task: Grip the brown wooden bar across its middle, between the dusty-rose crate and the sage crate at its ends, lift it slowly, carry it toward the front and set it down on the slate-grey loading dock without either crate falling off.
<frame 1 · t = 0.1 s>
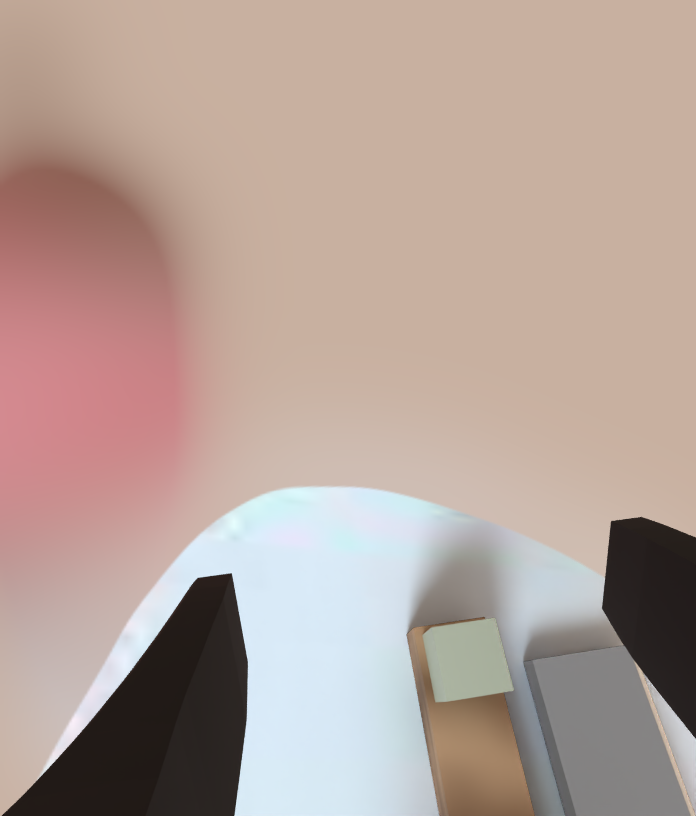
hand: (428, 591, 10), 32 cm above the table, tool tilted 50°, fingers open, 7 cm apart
dock: (617, 806, 34), on the table
crate sage: (458, 663, 35), point 4 cm above the table, touching brown wooden bar
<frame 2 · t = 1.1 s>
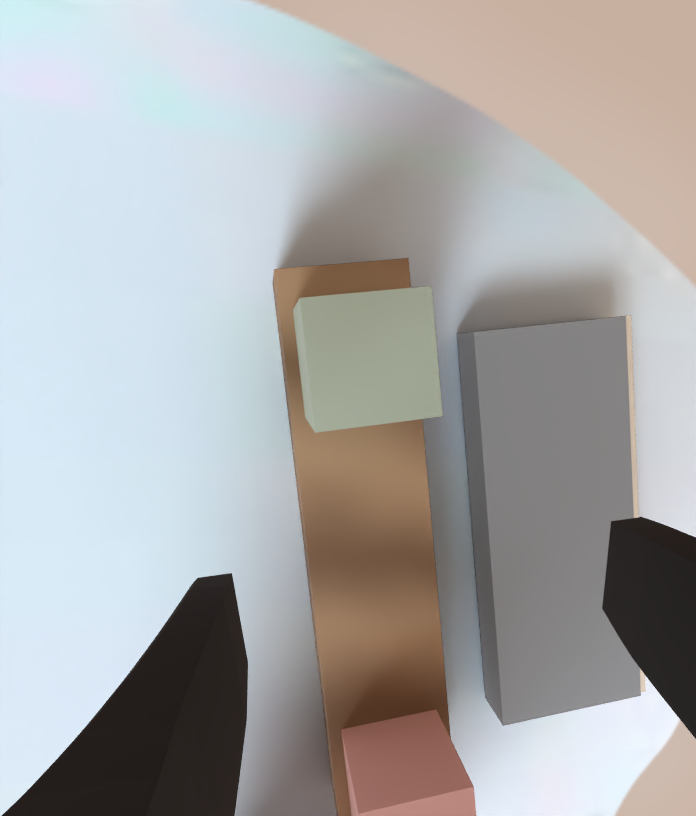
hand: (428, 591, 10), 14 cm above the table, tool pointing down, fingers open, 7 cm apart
dock: (540, 512, 26), on the table
crate sage: (352, 358, 20), point 4 cm above the table, touching brown wooden bar
brown wooden bar: (357, 538, 25), on the table, touching crate rose, crate sage
crate rose: (393, 763, 22), point 4 cm above the table, touching brown wooden bar
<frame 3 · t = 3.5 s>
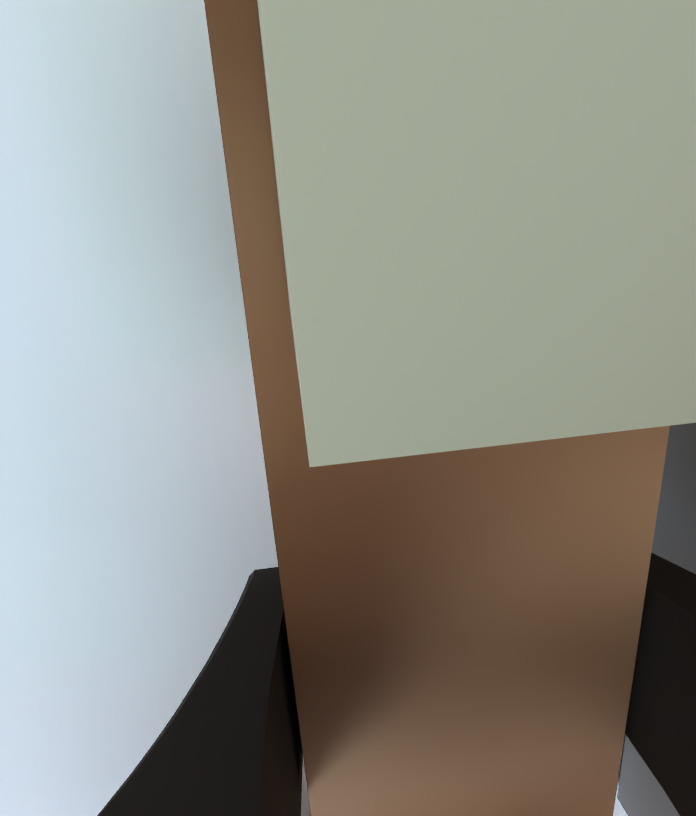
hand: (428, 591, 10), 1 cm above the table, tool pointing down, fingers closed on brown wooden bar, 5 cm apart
crate sage: (476, 73, 5), point 4 cm above the table, touching brown wooden bar
brown wooden bar: (409, 542, 11), on the table, touching crate rose, crate sage, gripper
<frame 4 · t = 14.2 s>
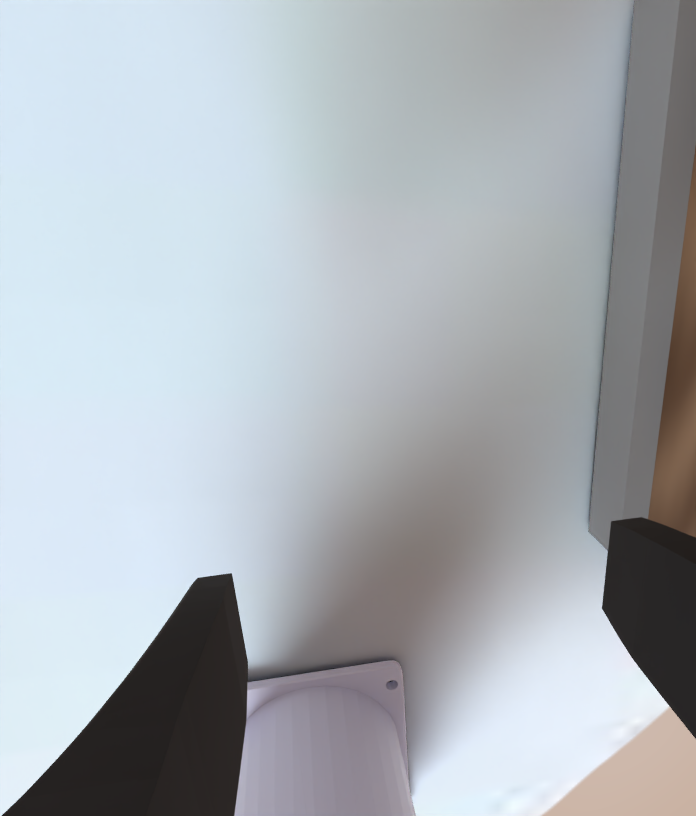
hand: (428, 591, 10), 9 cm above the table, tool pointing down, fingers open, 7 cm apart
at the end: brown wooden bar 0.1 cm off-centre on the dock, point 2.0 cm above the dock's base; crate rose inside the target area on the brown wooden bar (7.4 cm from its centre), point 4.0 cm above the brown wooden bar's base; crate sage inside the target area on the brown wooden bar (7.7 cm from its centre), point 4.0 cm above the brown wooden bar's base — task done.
